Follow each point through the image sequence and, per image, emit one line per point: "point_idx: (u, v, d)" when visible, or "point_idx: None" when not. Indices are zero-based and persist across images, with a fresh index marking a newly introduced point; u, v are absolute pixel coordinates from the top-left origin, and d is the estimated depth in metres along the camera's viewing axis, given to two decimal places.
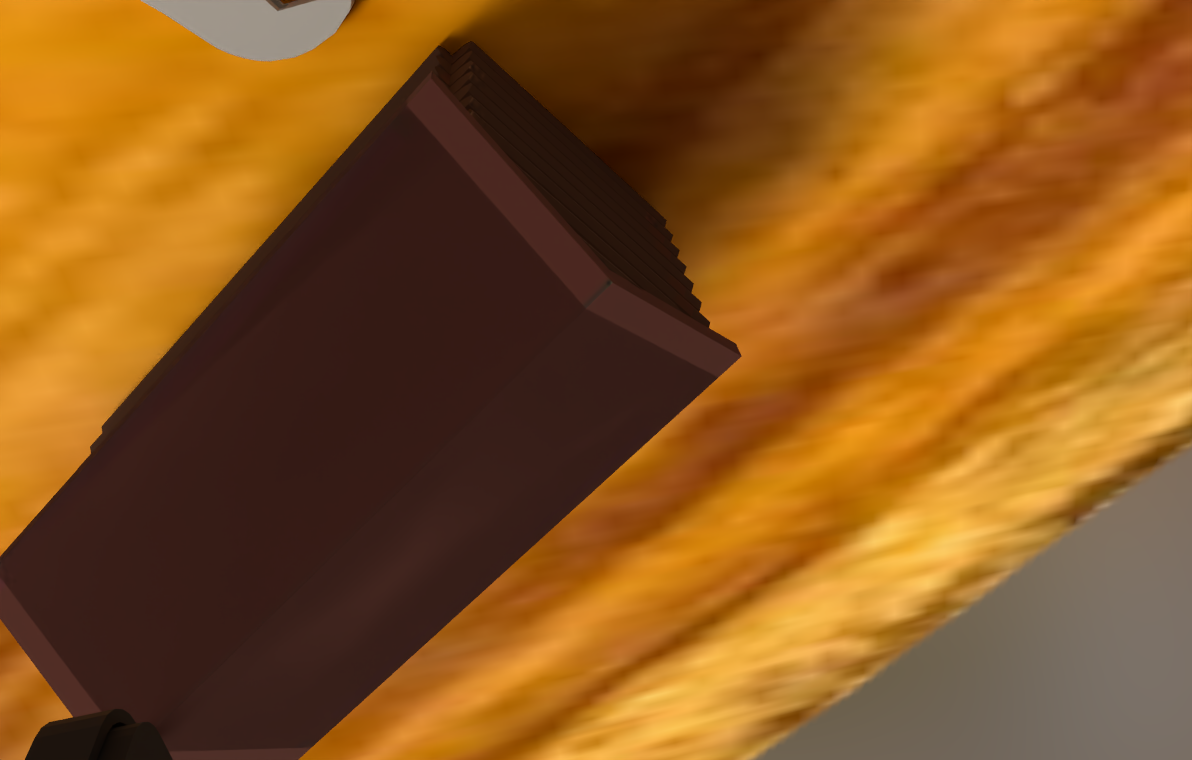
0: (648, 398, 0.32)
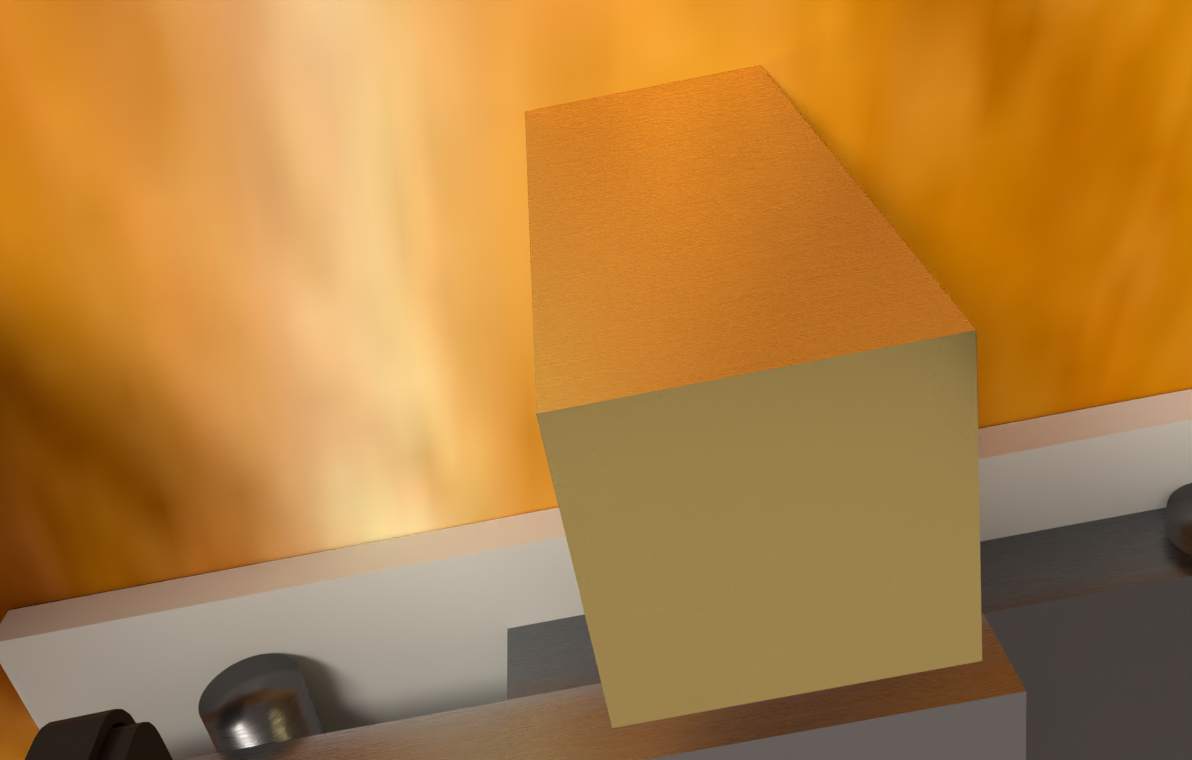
0: None
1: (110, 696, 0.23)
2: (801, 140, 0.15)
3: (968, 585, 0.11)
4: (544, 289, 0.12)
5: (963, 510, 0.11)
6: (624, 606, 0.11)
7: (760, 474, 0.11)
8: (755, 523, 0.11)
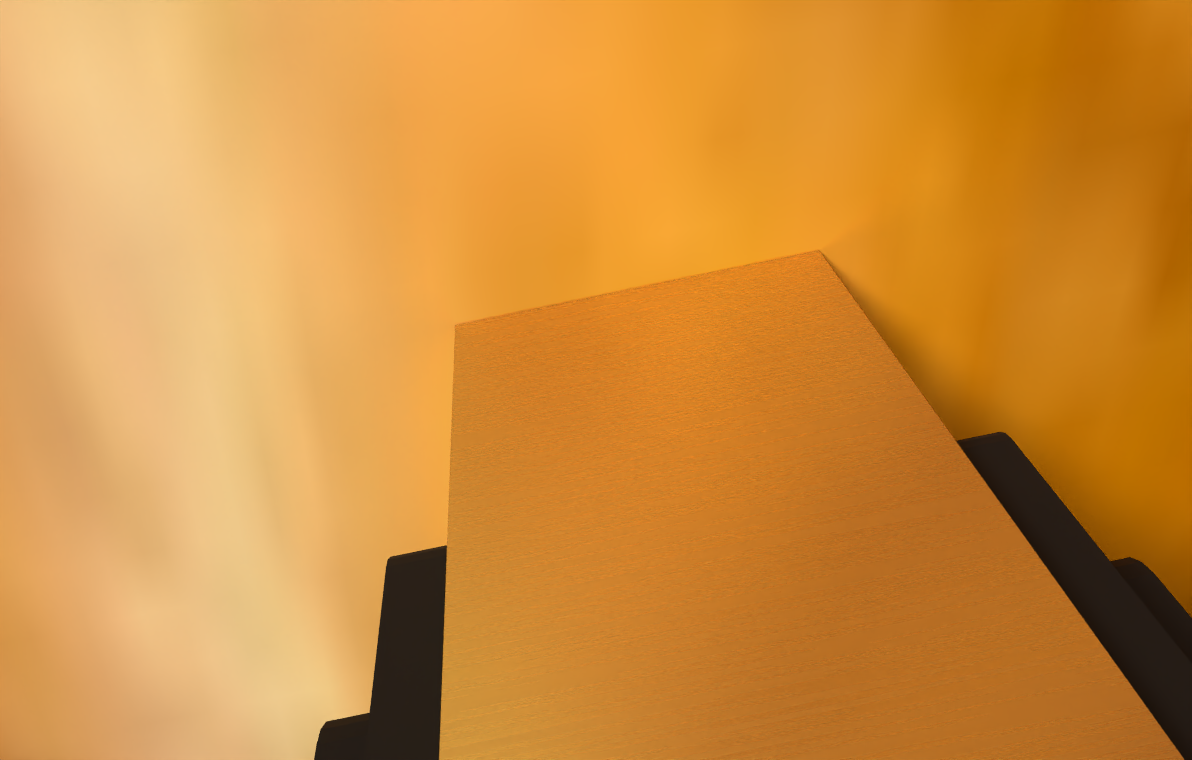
0: None
1: None
2: (932, 457, 0.09)
3: None
4: None
5: None
6: None
7: None
8: None
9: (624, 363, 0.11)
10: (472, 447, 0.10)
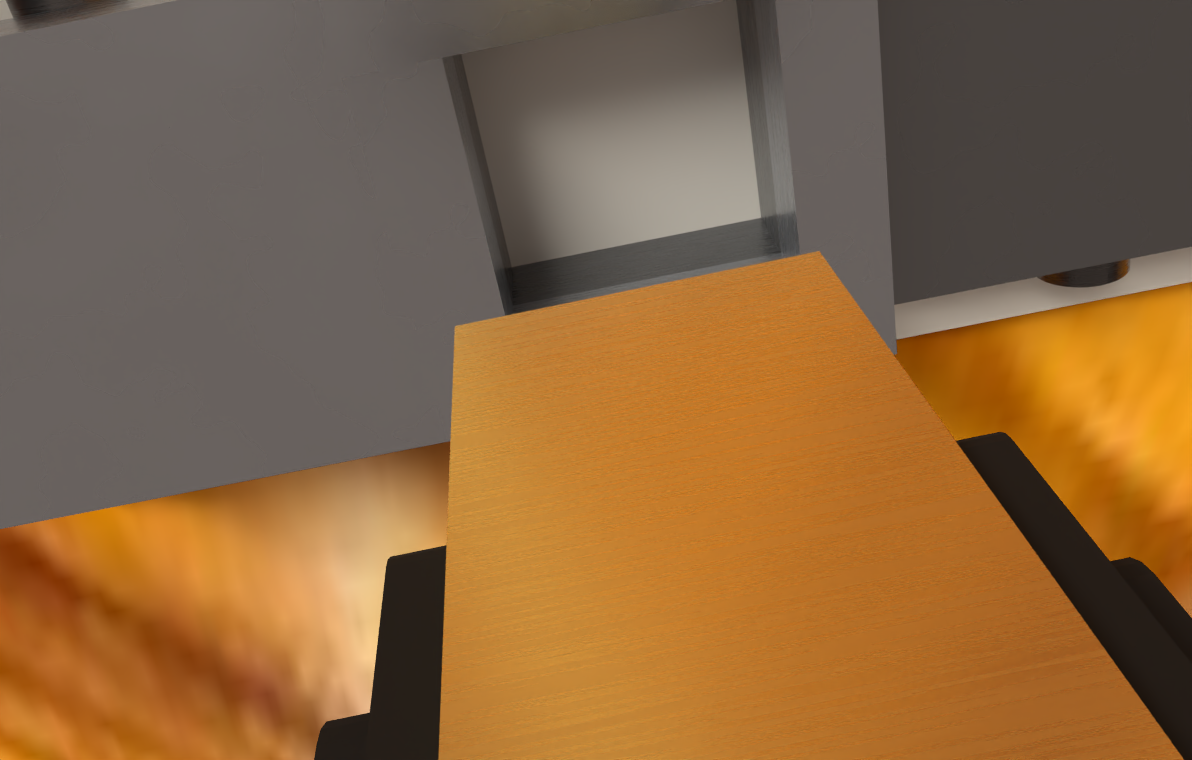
0: None
1: None
2: (932, 458, 0.09)
3: None
4: None
5: None
6: None
7: None
8: None
9: (624, 364, 0.11)
10: (471, 448, 0.10)
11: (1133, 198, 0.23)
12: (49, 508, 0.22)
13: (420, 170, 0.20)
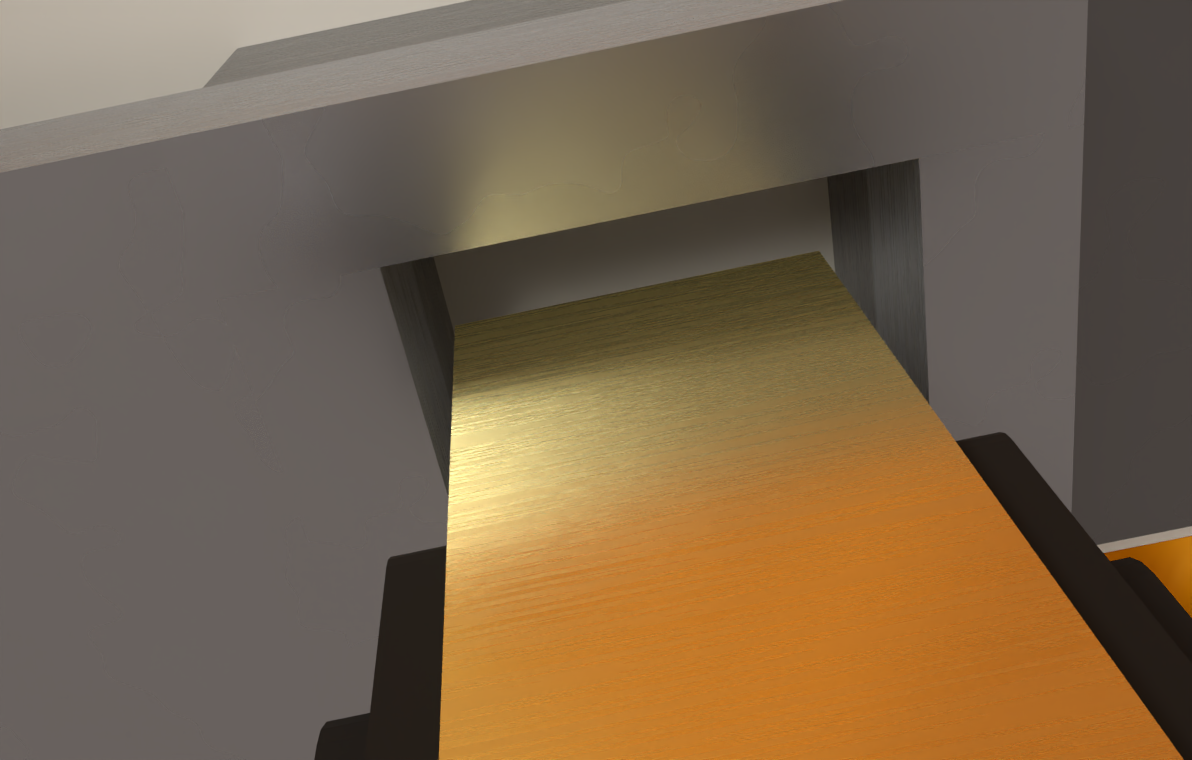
0: None
1: None
2: (931, 457, 0.09)
3: None
4: None
5: None
6: None
7: None
8: None
9: (624, 363, 0.11)
10: (472, 447, 0.10)
11: None
12: None
13: (350, 431, 0.12)
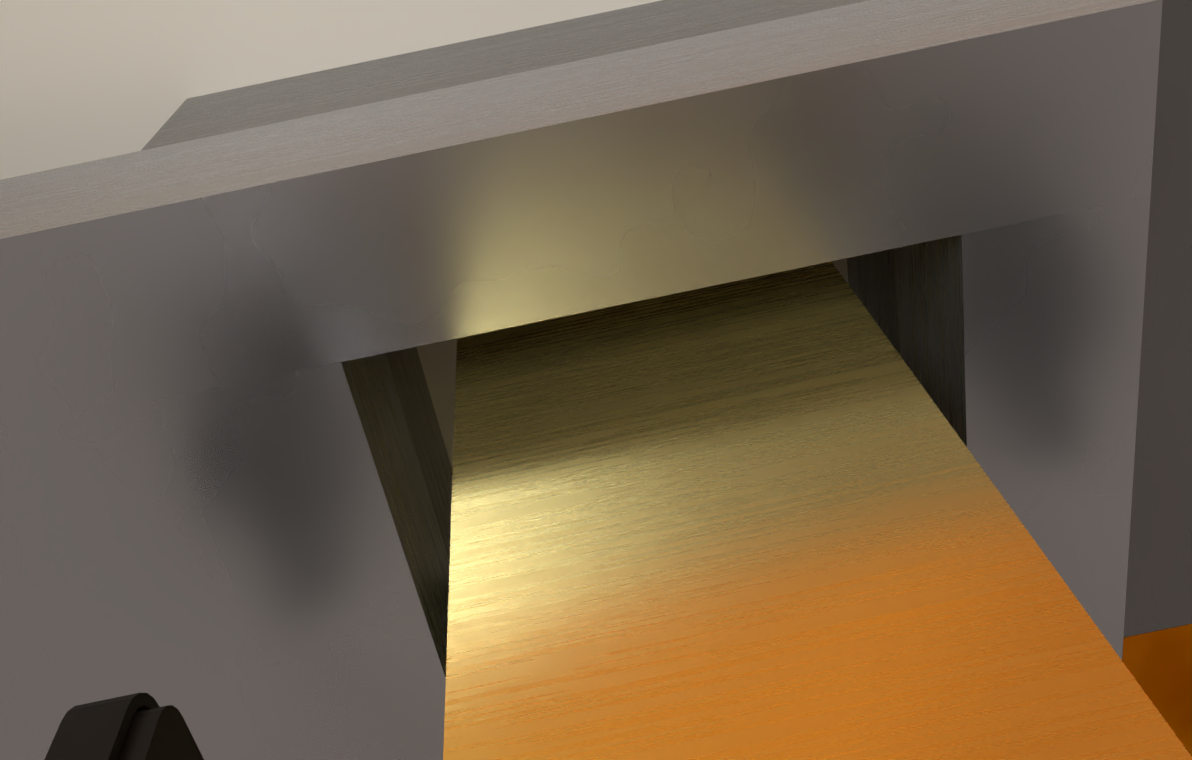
0: None
1: None
2: (858, 339, 0.10)
3: None
4: (466, 670, 0.07)
5: None
6: None
7: None
8: None
9: None
10: (475, 346, 0.12)
11: None
12: None
13: (310, 542, 0.11)
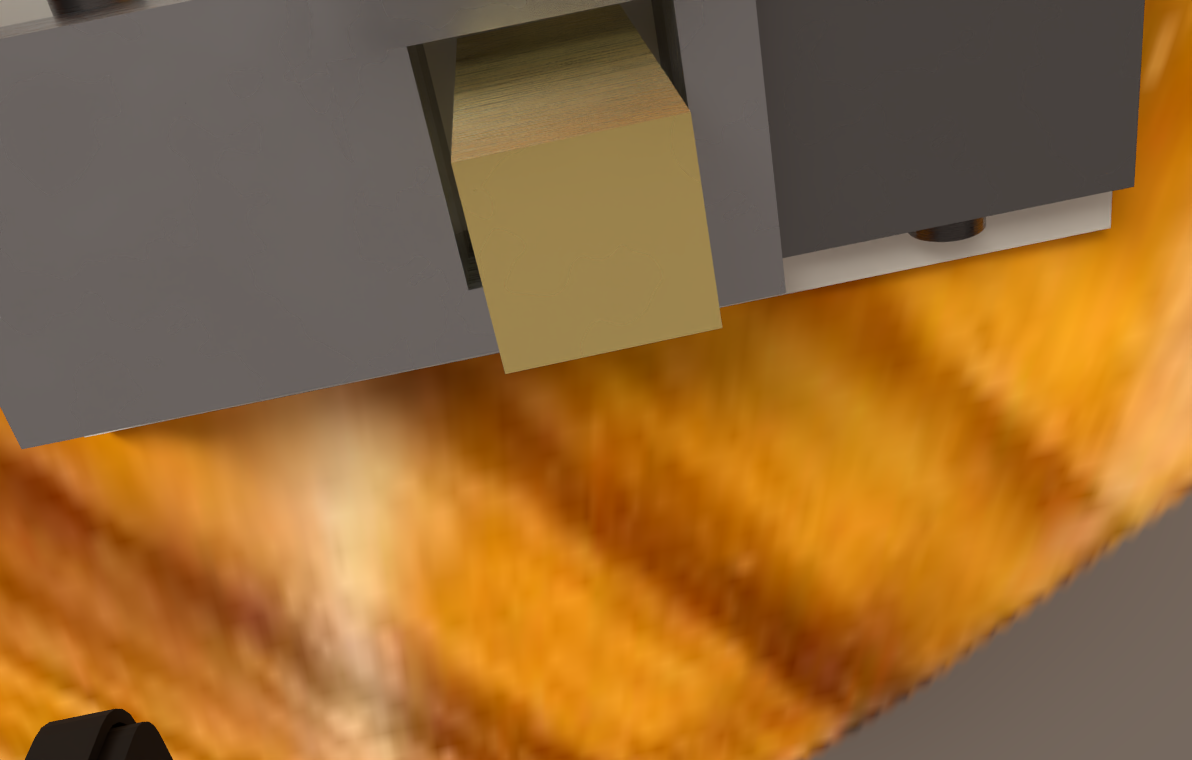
0: None
1: None
2: (631, 40, 0.24)
3: (707, 275, 0.20)
4: (460, 117, 0.21)
5: (698, 225, 0.19)
6: (507, 288, 0.20)
7: (578, 201, 0.19)
8: (579, 233, 0.19)
9: (527, 37, 0.26)
10: (464, 60, 0.25)
11: (982, 166, 0.28)
12: (79, 428, 0.27)
13: (389, 138, 0.24)
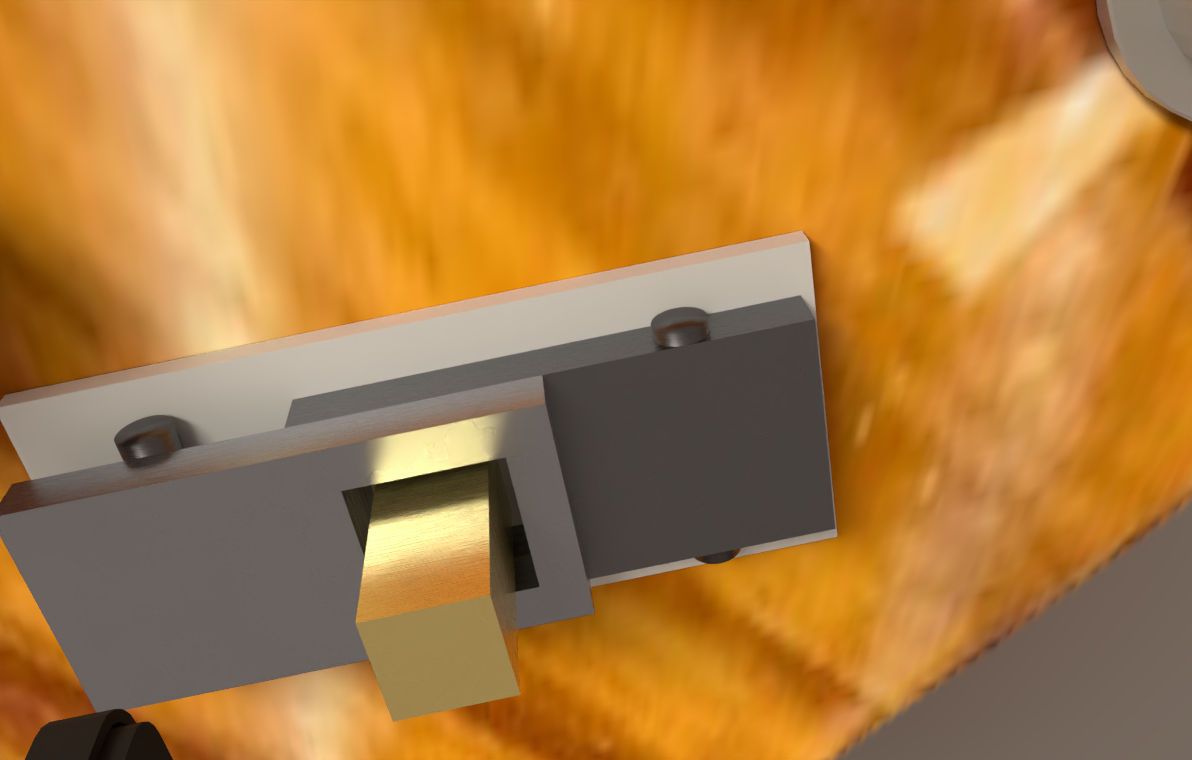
0: None
1: (64, 443, 0.40)
2: (481, 484, 0.38)
3: (508, 669, 0.34)
4: (367, 566, 0.35)
5: (500, 646, 0.34)
6: (391, 680, 0.34)
7: (430, 638, 0.33)
8: (431, 652, 0.34)
9: None
10: None
11: (730, 520, 0.42)
12: (135, 702, 0.41)
13: (332, 539, 0.39)
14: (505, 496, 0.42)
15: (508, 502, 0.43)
